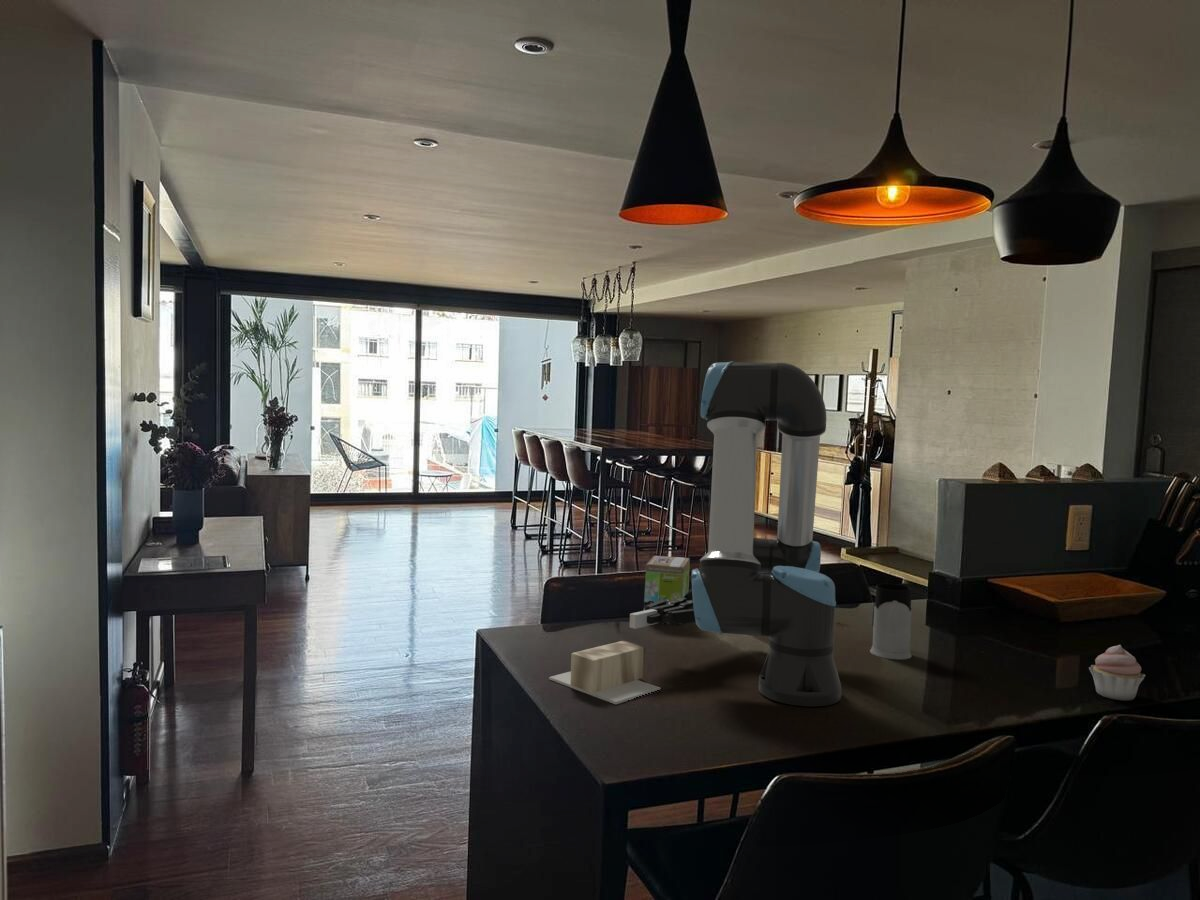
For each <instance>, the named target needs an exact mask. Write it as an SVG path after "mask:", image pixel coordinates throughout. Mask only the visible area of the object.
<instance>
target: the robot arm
mask: <svg viewBox="0 0 1200 900" xmlns="http://www.w3.org/2000/svg"><path fill="white" fill-rule="evenodd" d="M706 371H707V372H706V374H705V378H704V383H703V389H702V393H701V401H700V417H701V419H704V420H706V427H707V428H708V430H710V432H711V433H712V434H713V450H712V451H713V452H712V453H713V454H712V471H711V472H712V473H711V487H710V488H711V491H710V510H709V529H708V549H707V553H706V554H704V555H703V556H702V557H701V558H700V560H699V568H693V569H692V570H691V589H689V591H688V593H687V594H686V595H685V597H684V598H679V599H678V600H675V601H671V602H669V600H667V599H666V598H662V599H661V600H660V601H657V602H655V603H652V604H649V605H647V606H645V611H644V610H641V611H637V612H636V611H635V612H632V613H629V628H631V629H635V630H637V629H642V628H644V627H649V626H653V625H657V624H660V625H664V623H667V624H666V625H668V626H675V625H676V624H681V625H682V624H690V623H693V624H694V625H696V626H697V627H698V628H699V630H701V631H705V632H712V633H717V634H721V635H722V634H730V635H731V634H733V635H745V636H747V635H748V636H760V637H769V647H768V649H769V650H768V653H767V655H766V659H765V660H764V663H763V666H762V669H761V671H760V674H759V676H758V677H759V678H758V691H759V693H760V694H761V695H762V696H763V697H766V698H767V699H769V700H772V701H775V702H778V703H781V704H786V705H790V706H798V707H810V708H811V707H813V708H815V707H825V706H826V707H827V706H831V705H834V704H836V703H838V702H840V700H841V699H842V684H841V681H840V677H839V673H838V670H837V667H836V663H835V659H834V641H835V639H834V638H835V636H834V634H835V632H834V631H835V630H834V629H835V609H836V608H835V607H836V606H837V601H836V585H835V583H834V581H833V580H832V579H831V578H830V577H829V576H827V575H826V574H824V573H821V572H820V569H821V561H822V560H821V557H822V555H821V554H822V553H821V551H822V550H821V544H820V542H818V541H814V540H813V538H814V537H813V536H814V524H815V509H816V499H817V497H816V496H817V482H818V481H817V480H818V470H819V459H820V457H819V456H820V455H819V454H820V444H821V442H820V441H821V436H822V435H824V434H825V432H826V430H827V409H826V404H825V401H824V398H823V395H822V394H821V391H820V390H819V387H818V386H817V384H816V383H815V381H814V380H813V379H812V378H811V376H809V374H808V373H807V372H805V371H804V370H803V369H801V368H799V367H798V366H796V365H795V364H794V365H793V364H791V363H786V362H745V361H744V362H742V361H739V362H737V361H734V360H732V361H728V362H727V361H726V362H714V363H712V364H711V365H710V366H709V367H708V369H707V370H706ZM766 421H777V429H778V431H779V432H780V433H781V434H782V435H781V454H780V455H781V457H780V458H781V459H780V475H779V477H780V478H779V494H778V495H779V497H778V515H777V531H776V532H777V535H776V539H774V538H761V537H759V538H758V537H755V536H754V535H755V533H754V532H755V508H756V507H755V506H756V484H757V483H756V481H757V455H758V454H757V451H758V437H759V435H760V434H761V433H763V432H764V431H765V430H766ZM676 626H677V625H676Z"/></svg>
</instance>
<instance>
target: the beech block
mask: <svg viewBox="0 0 1200 900" xmlns="http://www.w3.org/2000/svg"><path fill="white" fill-rule="evenodd" d="M570 653H571V652H570ZM570 655H571V658H570V671H571V685H573V686H575V687H578V688H581V689H583V690H586V691H589V692H591V693H594V692H598V691H601V690H604V689H608V688H611V687H615V686H618V685H621V684H625V683H628V682H631V681H635V680H641V679H645V676H646V673H645V672H646V646H643V645H641V644H636V643H633V642H629V641H626V640H621V641H617V642H612V643H608V644H603V645H599V646H595V647H591V648H586V649H582V650H579V651H575V652H572V653H571V654H570Z"/></svg>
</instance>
